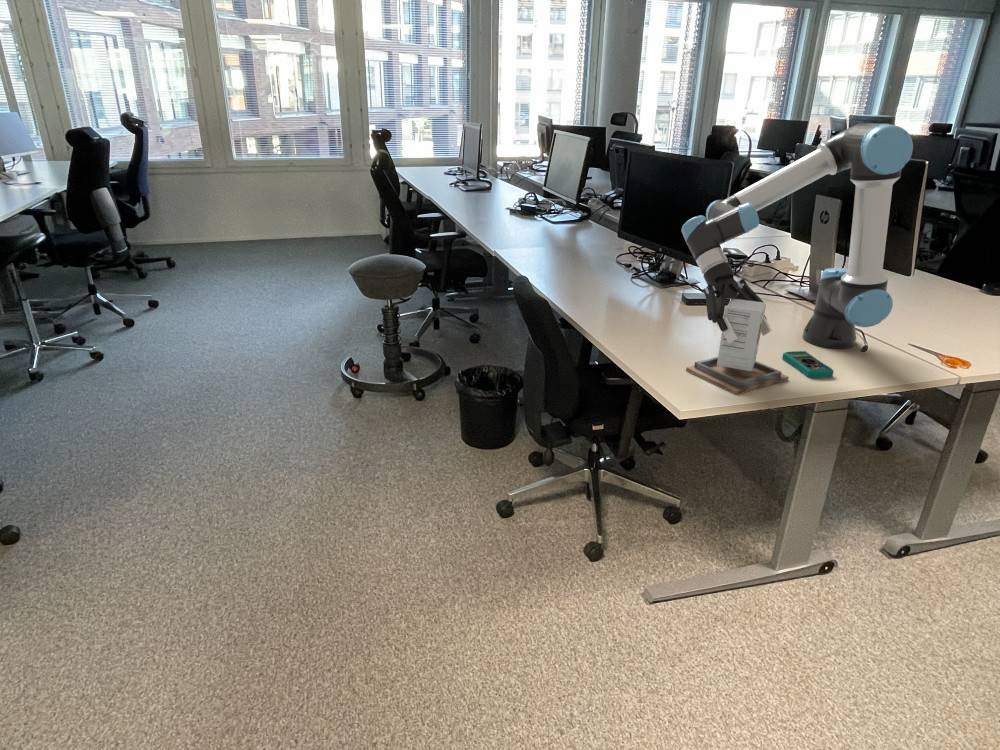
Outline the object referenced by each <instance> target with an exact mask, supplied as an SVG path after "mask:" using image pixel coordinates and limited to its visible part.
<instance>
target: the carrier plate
mask: <svg viewBox="0 0 1000 750" xmlns="http://www.w3.org/2000/svg"><path fill="white" fill-rule="evenodd" d="M717 360H718V356H715V357H711V358H707V359H704V360H699V361H695V362H694V365H690V366H686V369H685V371H686V372H688V373H690V374H692V375H694V376H696V377H698V378H701V379H702V380H705V381H707V382H709V383H710V384H713V385H715V386H717V387H719V388H721V389H723V390H725V391H727V392H729V393H732V394H733V395H740V394H743V393H749V392H751V391H754V390H758V389H761V388H762V389H763V388H764V387H765V388H766V387H769V386H772V385H776V384H779V383H782V382H785V381H789V378H790V376H788V375H785V374H784V373H782V371H781V370H779V369H776V368H774V367H772V366H769V365H766V364H764V363H762V362H759V361H757V360H756V361H755V364H754V366H753V368H752V371H746V370H740V369H735V368H729V367H724V366H718V365H717Z"/></svg>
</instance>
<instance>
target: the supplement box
mask: <svg viewBox="0 0 1000 750" xmlns="http://www.w3.org/2000/svg"><path fill="white" fill-rule="evenodd" d="M729 300H730V301H729V302H728V304H727V305H725V309H724V316H723V318H724V317H727V319H728V321H729V322H730V324H731V326H732V328H733V330H734V332H735V334H736V336H737V338H738V339H736V340H735V341H733V342H732V343H728V341H727V339H726V337H725V335H724V333H723V332H722V331H721V336H720V342H719V349H718V355H717V357H718V360H717V365H718V366H724V367H729V368H735V369H740V370H746V371H752V368H753V366H754V364H755V361H757V355H758V349H759V344H760V340H761V335H762V333H761V329H762V323H763V318H764V315H765V312H766V307H767V303H766V302H764V301H763V302H764V303H763V302H756V301H748V300H740V299H729Z"/></svg>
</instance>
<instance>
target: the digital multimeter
mask: <svg viewBox="0 0 1000 750" xmlns="http://www.w3.org/2000/svg"><path fill="white" fill-rule="evenodd" d="M781 357H782V360H783V361H785V362H786V363H788V364H789V365H791V366H792V367H793V368H795V369H796V371H797V370H798V371H799V372H800V373H801V374H802V375H804V376H805V377H806V378H808V379H826V378H827V379H828V378H832V377H833V376H834V372H835V371H834V369H832V368H831V367H830V366H828V365H827V364H825V363H824V362H822V361H820V360H819V359H817V358H816V357H814V356H813V355H812V354H810V353H809V352H807V351H805V350H802V351H801V350H798V351H797V350H795V351H793V350H792V351H785V352H783V353H782V356H781Z"/></svg>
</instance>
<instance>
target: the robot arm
mask: <svg viewBox="0 0 1000 750" xmlns="http://www.w3.org/2000/svg"><path fill="white" fill-rule="evenodd" d="M816 147H817V148H816V150H813V151H812V152H810V153H808V154H806V155H805V156H803V157H801V158H798V159H797V160H795V161H793V162H792V163H790V164H788V165H787V166H784V167H782V168H780V169H779V170H777V171H775V172H773V173H771V174H769V175H767V176H766V177H764V178H762V179H760V180H758V181H757V182H754V183H753V184H751V185H749V186H747V187H745V188H744V189H741V190H740V191H738V192H736V193H734V194H732V195H730V196H729V197H727V198H725V199H716V200H714V201H713V202H711V203H710V204H709V205H708V206H707V208H706V211H705V212H706V213H705V216H704V215H697V216H694V217H692V218H690V219H688V220H687V221H686V222H685V223H684V224H683V225H682V227H681V233H682V236H683V238H684V240H685V243H686V245H687V246H688V249H689V251H690V253H691V254H692V256H693V259H694V260H695V262H696V264H697V266H698V268H699V270H700V272H701V274H702V275H703V278H704V280H705V284H706V286H705V287H704V288H703V290H702V291H703V293H704V295H705V305H706V313H707V320H709V321H711V322H712V323H713V324H716V323H717V325H718V327H719V329H720V331H721V333H722V332H723V333H724V335H725V337H726V339H727V341H728V343H732V342H733V341H735V340H736V339H738V338H737V336H736V334H735V332H734V330H733V328H732V326H731V324H730V322H729V321H728V319H727V317H724V315H725V309H726V301H727V300H731V299H740V300H748V301H756V302H763V303H765V302H764V301H763V300H762V298H761V297H759V295H757V293H756V292H754V290H753V289H752V288H751V287H750V286H749V285H748V283H747V282H746V280H745V279H744V278H742V279H740V280H739V281H738V280H737V281H736V279H734V275H735V272H734V269H733V267H732V265H731V264H730V263H729V262H728V258H727V256H726V253H725V251H724V249H723V248H722V247H721V245H722V244H725V243H727V242H730V241H731V240H733V239H736V238H738V237H741V236H742V235H745V234H748V233H749V232H751V231H753V230H755V229H756V228H758V227H759V225H760V218H759V215H758V212H759V211H760V210H762V209H764V208H766V207H768V206H769V205H772V204H774V203H775V202H777V201H779V200H781V199H783V198H785V197H787V196H788V195H789V196H790V195H791V194H793V193H795V192H796V191H798V190H800V189H802V188H804V187H805V186H807V185H810V184H812V183H813V182H815V181H818V180H819V179H820V178H821V179H822V178H823V177H825V176H826V175H830V176H834V175H836V174H838V173H841V172H843V171H845V170H849V169H850V176H849V177H850V178H849V180H850V181H851V183H853V184H854V185H855V188H854V189H855V191H854V201H853V211H852V212H853V213H852V222H851V232H850V233H851V234H850V243H849V251H848V252H849V253H848V254H849V255H848V265H847V268H843V267H829V268H825V269H824V270H823V272H822V273H821V277H820V278H819V285H818V290H817V294H816V295H817V296H816V299H815V305H814V310H813V314H812V316H811V317H810V319H809V320H808V322H807V324H806V325H805V327H804V329H803V333H802V338H803V340H805V342H807V343H810V344H813V345H816V346H819V347H825V348H830V349H850V348H853V347H854V346H855V345H856V342H857V333H856V327H860V328H869V327H870V328H871V327H874V326H877V325H880V323H882V322H883V321H884V320H886V319H887V317H889V316H890V314H891V312H892V309H893V305H894V303H893V298H892V296H891V295H890V293H889V292H888V290H887V288H888V279H889V277H888V276H887V275H886V274H885V273H884V271H883V270H884V261H885V252H886V242H887V236H888V227H889V219H890V212H891V211H890V209H891V202H892V195H893V193H892V192H893V185H894V184H895V183H896V182H897V181H898V180H899V179H900V178H901V176H902V169H903V168H905V166H906V164H907V163H908V162H909V161H910V159H911V158H912V155H913V149H914V143H913V139H912V137H911V135H910V133H909V132H908V131H907V130H906V129H905V128H903V127H901V126H900V125H899V126H898V125H896V124H891V123H872V122H862V123H858V124H854V125H852V126H850V127H848V128H846V129H845V130H843V131H841V132H838V133H837V134H835V135H834V136H832V137H829V138H828V139H826V140H825V141H823V142H821V143H819V144H818V145H817V146H816ZM771 332H773V331H772V328H771V326H770V324H769V322H768V319H767V317H766V315H765V314H764V318H763V323H762V329H761V335H762V336H766V335H768V334H770V333H771Z"/></svg>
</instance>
